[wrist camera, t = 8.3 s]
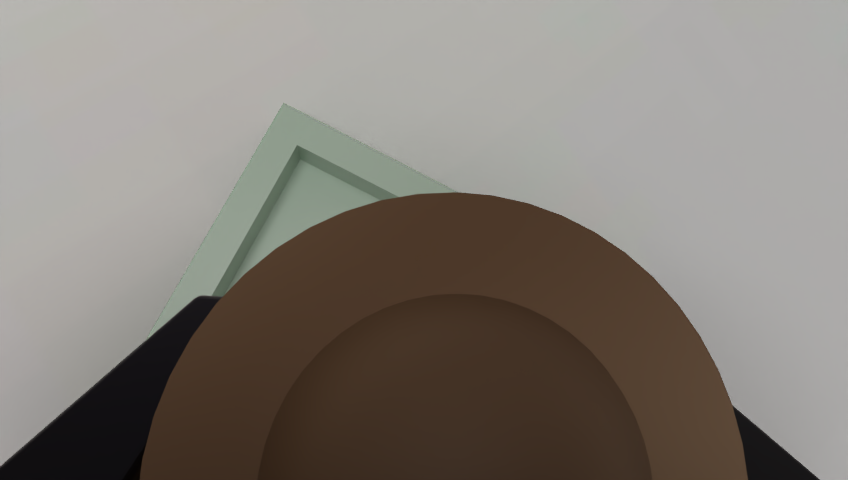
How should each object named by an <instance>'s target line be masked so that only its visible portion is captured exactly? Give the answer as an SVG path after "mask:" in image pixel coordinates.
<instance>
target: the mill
mask: <svg viewBox="0 0 848 480" xmlns="http://www.w3.org/2000/svg"><path fill="white" fill-rule="evenodd" d="M140 480H748V477H747V470H746V463H745V457H744V450H743V443H742V440H741V436H740V432H739V429H738V425H737V421H736V417H735V414H734V410H733V406H732V403H731V401H730V398H729V396H728V393H727V391H726V388H725V386H724V383H723V381H722V378H721V376H720V373H719V371H718V369H717V367H716V365H715V363H714V361H713V359H712V357H711V356H710V354H709V352H708V350H707V348H706V346H705V345H704V343H703V341H702V339H701V337H700V335H699V334H698V333H697V331H696V330H695V328H694V327H693V325H692V324H691V323H690V321H689V320H688V318H687V317H686V315H685V314H684V313H683V311H682V310H681V308H680V307H679V306H678V304H677V303H676V302H675V301H674V300H673V299H672V298H671V297H670V295H669V294H668V293H667V292H666V291H665V290H664V289H663V288H662V287H661V285H660V284H659V283H658V282H657V281H656V280H655V279H654V278H653V277H652V276H651V275H650V274H649V273H648V272H647V271H645V270H644V269H643V268H642V267H641V266H640V265H639V264H637V263H636V262H635V261H634V260H633V259H632V258H631V257H629V256H628V255H627V254H626V253H625V252H623V251H622V250H620V249H619V248H617V247H616V246H614V245H613V244H611V243H610V242H608V241H607V240H605V239H604V238H603V237H601V236H600V235H598V234H597V233H595V232H593V231H591V230H589V229H587V228H585V227H583V226H581V225H579V224H578V223H576V222H574V221H572V220H570V219H568V218H566V217H564V216H562V215H559V214H556V213H553V212H550V211H548V210H545V209H542V208H539V207H536V206H534V205H531V204H528V203H524V202H519V201H515V200H510V199H505V198H501V197H496V196H492V195H480V194H469V193H457V192H451V193H427V194H414V195H409V196H403V197H397V198H391V199H385V200H380V201H377V202H374V203H371V204H367V205H364V206H361V207H358V208H354V209H351V210H348V211H345V212H343V213H340V214H338V215H336V216H334V217H332V218H329V219H327V220H325V221H323V222H321V223H318V224H316V225H314V226H312V227H310V228H308V229H306V230H305V231H303V232H302V233H300V234H298V235H297V236H295V237H294V238H292V239H290V240H289V241H287V242H285V243H284V244H282V245H281V246H279V247H277V248H276V249H275V250H273V251H272V252H271V253H270V254H268V255H267V256H266V257H265V258H264V259H262V260H261V261H260V262H259V263H257V264H256V265H255V266H254V267H252V268H251V269H250V270H249V271H248V272H246V273H245V274H244V275H243V276H242V277H241V278H240V279H239V280H238V281H237V282H236V283H235V285H234V286H233V287H232V288H231V289H230V290H229V291H228V292H227V293H226V294H225V295H224V296H223V297H222V298H221V299H220V300H219V301H218V302H217V303H216V305H215V306H214V307H213V309H212V310H211V311H210V313H209V314H208V315H207V317H206V318H205V320H204V321H203V322H202V324H201V325H200V326H199V328H198V329H197V330H196V332H195V333H194V334H193V336H192V337H191V339H190V341H189V342H188V344H187V346H186V348H185V350H184V351H183V353H182V355H181V357H180V358H179V360H178V362H177V364H176V366H175V367H174V369H173V371H172V373H171V375H170V377H169V379H168V382H167V384H166V387H165V389H164V392H163V394H162V397H161V399H160V402H159V404H158V407H157V409H156V411H155V414H154V417H153V420H152V424H151V428H150V432H149V436H148V439H147V443H146V447H145V451H144V455H143V458H142V465H141V473H140Z"/></svg>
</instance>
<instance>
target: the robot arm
mask: <svg viewBox="0 0 848 480" xmlns="http://www.w3.org/2000/svg"><path fill="white" fill-rule="evenodd" d="M222 297H223V296H207V295H201V296H198V297H196V298H194V299H193V300H192V301H191V302H190V303H188V304H187V305H186V306H185V307H184V308H183V309H182V310H180V311H179V312H178V313H177V314H176V315H175V316H173V317H172V318H171V319H170V320H169V321H168V322H167V323H165V324H164V325H163V326H162V327H161V328H160V329H158V330H157V331H156V332H155V333H154V334H153V335H152V336H150V337H149V338H148V339H147V340H146V341H145V342H143V343H142V344H141V345H140V346H139V347H138V348H136V349H135V350H134V351H133V352H132V353H131V354H130V355H128V356H127V357H126V358H125V359H124V360H123V361H121V362H120V363H119V364H118V365H117V366H116V367H115V368H113V369H112V370H111V371H110V372H109V373H108V374H106V375H105V376H104V377H103V378H102V379H101V380H100V381H98V382H97V383H96V384H95V385H94V386H93V387H91V388H90V389H89V390H88V391H87V392H86V393H85V394H83V395H82V396H81V397H80V398H79V399H78V400H76V401H75V402H74V403H73V404H72V405H71V406H70V407H68V408H67V409H66V410H65V411H64V412H63V413H61V414H60V415H59V416H58V417H57V418H56V419H54V420H53V421H52V422H51V423H50V424H49V425H48V426H46V427H45V428H44V429H43V430H42V431H41V432H39V433H38V434H37V435H36V436H35V437H34V438H33V439H31V440H30V441H29V442H28V443H27V444H26V445H24V446H23V447H22V448H21V449H20V450H19V451H18V452H16V453H15V454H14V455H13V456H12V457H11V458H9V459H8V460H7V461H6V462H5V463H4V464H3V465H1V466H0V480H140V473H141V465H142V458H143V455H144V451H145V447H146V443H147V439H148V436H149V432H150V428H151V424H152V420H153V417H154V414H155V411H156V409H157V407H158V404H159V402H160V399H161V397H162V394H163V392H164V389H165V387H166V384H167V382H168V379H169V377H170V375H171V373H172V371H173V369H174V367H175V366H176V364H177V362H178V360H179V358H180V357H181V355H182V353H183V351H184V350H185V348H186V346H187V344H188V342H189V341H190V339H191V337H192V336H193V334H194V333H195V332H196V330H197V329H198V328H199V326H200V325H201V324H202V322H203V321H204V320H205V318H206V317H207V315H208V314H209V313H210V311H211V310H212V309H213V307H214V306H215V305H216V303H217V302H218V301H219V300H220V299H221V298H222ZM733 410H734V414H735V417H736V421H737V425H738V429H739V432H740V436H741V440H742V443H743V450H744V457H745V463H746V470H747V477H748V480H820V479H818V478H817V477H816V476H815V475H814V474H813V473H811V472H810V471H809V470H808V469H807V468H805V467H804V466H803V465H802V464H801V463H800V462H798V461H797V460H796V459H795V458H794V457H792V456H791V455H790V454H789V453H788V452H787V451H785V450H784V449H783V448H782V447H781V446H780V445H778V444H777V443H776V442H775V441H774V440H772V439H771V438H770V437H769V436H768V435H767V434H765V433H764V432H763V431H762V430H761V429H760V428H758V427H757V426H756V425H755V424H754V423H752V422H751V421H750V420H749V419H748V418H747V417H745V416H744V415H743V414H742V413H741V412H740V411H738V410H737V409H736V408H735V407H734V406H733Z"/></svg>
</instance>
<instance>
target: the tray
mask: <svg viewBox="0 0 848 480" xmlns="http://www.w3.org/2000/svg"><path fill="white" fill-rule="evenodd" d="M451 192H456V191H454V190H452V189H451V188H449V187H447V186H445V185H443V184H441V183H439V182H437V181H435V180H433V179H431V178H429V177H427V176H425V175H423V174H421V173H419V172H417V171H415V170H414V169H412V168H410V167H408V166H406V165H404V164H402V163H400V162H398V161H396V160H394V159H392V158H390V157H388V156H386V155H384V154H382V153H380V152H378V151H377V150H375V149H373V148H371V147H369V146H367V145H365V144H363V143H361V142H359V141H357V140H355V139H353V138H351V137H349V136H347V135H345V134H343V133H341V132H339V131H338V130H336V129H334V128H332V127H330V126H328V125H326V124H324V123H322V122H320V121H318V120H316V119H314V118H312V117H310V116H308V115H306V114H304V113H302V112H301V111H299V110H297V109H295V108H293V107H291V106H289V105H287V104H285V103H283V105H282V106H281V108H280V110H279V112H278V113H277V115H276V117H275V119H274V120H273V122H272V124H271V125H270V127H269V129H268V131H267V132H266V134H265V136H264V137H263V139H262V141H261V143H260V144H259V146H258V148H257V150H256V151H255V153H254V155H253V156H252V158H251V160H250V162H249V163H248V165H247V167H246V168H245V170H244V172H243V174H242V175H241V177H240V179H239V181H238V182H237V184H236V186H235V187H234V189H233V191H232V193H231V194H230V196H229V198H228V199H227V201H226V203H225V205H224V206H223V208H222V210H221V212H220V213H219V215H218V217H217V218H216V220H215V222H214V224H213V225H212V227H211V229H210V230H209V232H208V234H207V236H206V237H205V239H204V241H203V243H202V244H201V246H200V248H199V249H198V251H197V253H196V255H195V256H194V258H193V260H192V261H191V263H190V265H189V267H188V268H187V270H186V272H185V274H184V275H183V277H182V279H181V280H180V282H179V284H178V286H177V287H176V289H175V291H174V293H173V294H172V296H171V298H170V299H169V301H168V303H167V305H166V306H165V308H164V310H163V311H162V313H161V315H160V317H159V318H158V320H157V322H156V324H155V325H154V327H153V329H152V330H151V332H150V334H149V336H148V337H147V339H148V338H149V337H150V336H152V335H153V334H154V333H155V332H156V331H157V330H158V329H160V328H161V327H162V326H163V325H164V324H165V323H167V322H168V321H169V320H170V319H171V318H172V317H173V316H175V315H176V314H177V313H178V312H179V311H180V310H182V309H183V308H184V307H185V306H186V305H187V304H188V303H190V302H191V301H192V300H193V299H194V298H196V297H198V296H201V295H207V296H224V295H225V294H226V293H227V292H228V291H229V290H230V289H231V288H232V287H233V286H234V285H235V283H236V282H237V281H238V280H239V279H240V278H241V277H242V276H243V275H244V274H245V273H246V272H248V271H249V270H250V269H251V268H252V267H254V266H255V265H256V264H257V263H259V262H260V261H261V260H262V259H264V258H265V257H266V256H267V255H268V254H270V253H271V252H272V251H273V250H275V249H276V248H277V247H279V246H281V245H282V244H284V243H285V242H287V241H289V240H290V239H292V238H294V237H295V236H297V235H298V234H300V233H302V232H303V231H305V230H306V229H308V228H310V227H312V226H314V225H316V224H318V223H321V222H323V221H325V220H327V219H329V218H332V217H334V216H336V215H338V214H340V213H343V212H345V211H348V210H351V209H354V208H358V207H361V206H364V205H367V204H371V203H374V202H377V201H380V200H385V199H391V198H397V197H403V196H409V195H414V194H427V193H451ZM457 193H458V192H457ZM147 339H146V340H147Z"/></svg>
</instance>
